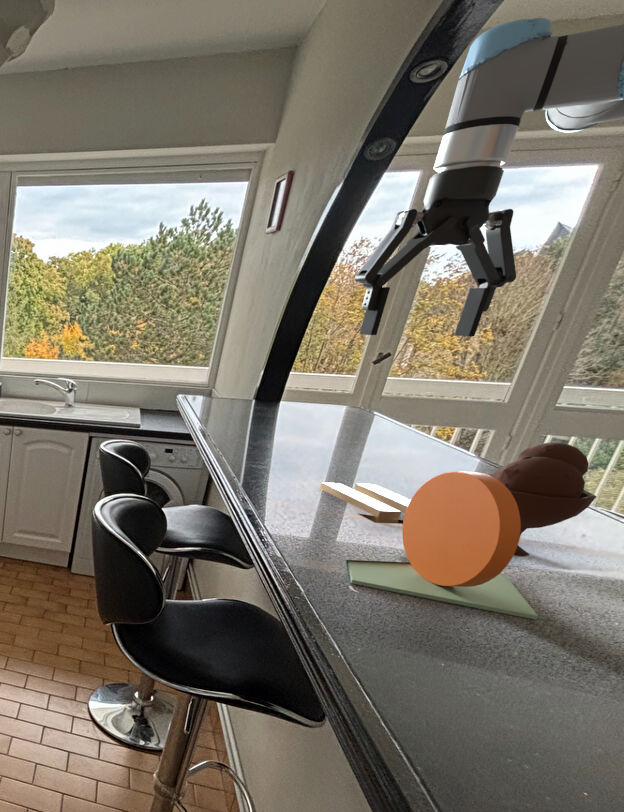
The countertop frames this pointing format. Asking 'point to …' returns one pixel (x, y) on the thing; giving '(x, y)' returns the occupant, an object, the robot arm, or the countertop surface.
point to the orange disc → (461, 529)
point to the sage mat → (440, 587)
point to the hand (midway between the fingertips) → (415, 335)
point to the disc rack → (371, 501)
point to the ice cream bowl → (546, 485)
